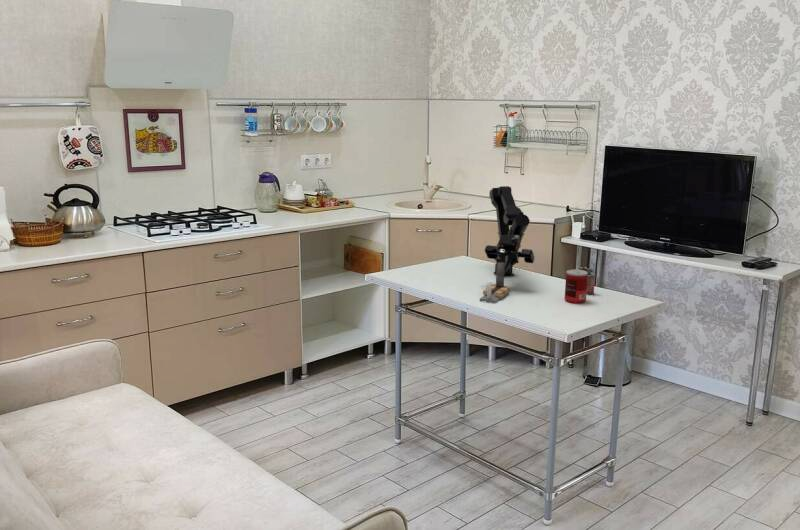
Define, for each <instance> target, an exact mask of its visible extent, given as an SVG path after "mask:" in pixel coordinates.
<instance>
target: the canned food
mask: <svg viewBox="0 0 800 530" xmlns="http://www.w3.org/2000/svg"><path fill="white" fill-rule="evenodd" d="M588 273H589V272H586V271H584V270H579V269H569V270H568V269H567V270H566V273H565V283H564V284H565V285H564V286H565V288H564V301H565V302H567V303H570V304H577V305H578V304H579V305H580V304H584V303H585V302H586V300H587V295H586V293H587V280H588Z"/></svg>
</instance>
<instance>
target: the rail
mask: <svg viewBox="0 0 800 530" xmlns="http://www.w3.org/2000/svg"><path fill="white" fill-rule="evenodd" d="M486 283H487V286H486V288H487V295H482V297H480V298H479V302H482V301H486V302H485V303H489V302H492V303H491V304H497V303H498V302H499V301H500V299H501V300H502V299H503V298H505V297H506V296H508V295H509V294H510V291H509V292H507V293H506V294H505V295H503V296H502V297H496V296H495V292H496V291H495V292H493V293H492V294H491V290H492V283H493V282H492V281H491V282H490V281H489V282H486ZM507 294H508V295H507Z"/></svg>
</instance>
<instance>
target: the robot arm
mask: <svg viewBox="0 0 800 530" xmlns="http://www.w3.org/2000/svg"><path fill="white" fill-rule="evenodd" d="M489 199H490V201H491V204H492V206H493V207H494V208H495V213H496V220H497V221H496V222H497V230H498V238H499V240H498V242H497V244H496V245H491V244H489V245H488V244H487V245H486V246H485V248H484V252H485V254H486V257H487V258H488V259H491V260H494V261H495V265H494V266H495V267H494V272H493V274H495V275H496V270H497V263H499V262H501V263H505V270H504V277H509V275H512V276H514V275H515V273H513V270H514V269H513V267H514V266H515V265H516V264H519V260H520V258H524V259H523V260H524V262H525V264H526V263H527V264H534V262H535V255H534V254H535V253H534V251H533V249H528V248H527V249H526V248H522V249H521V246H522V245H521V243H522V240H523V237H524V233H525V232H526V231H527V228H528V226H529V224H530V218H529V217H528V216H527V215H526V214H525V213H524V212H523V211H522V209H521V208H520V207H518V206H517V204H516V203H515V199H514V196H513V193H512V187H511V186H507V185H504V186H503V185H502V186H499V187H492V188H491V189H490V190H489ZM519 249H521V251H519Z"/></svg>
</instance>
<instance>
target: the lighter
mask: <svg viewBox="0 0 800 530" xmlns="http://www.w3.org/2000/svg"><path fill="white" fill-rule="evenodd" d="M578 270H584V271H586V272H588V280H587V293H586V296H594V295H595V284H596V283H595V282H596V276H597V275H596V274H594V273H595V269H594V268H588V267H586V266H584V267H582V266H580V267H578Z"/></svg>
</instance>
